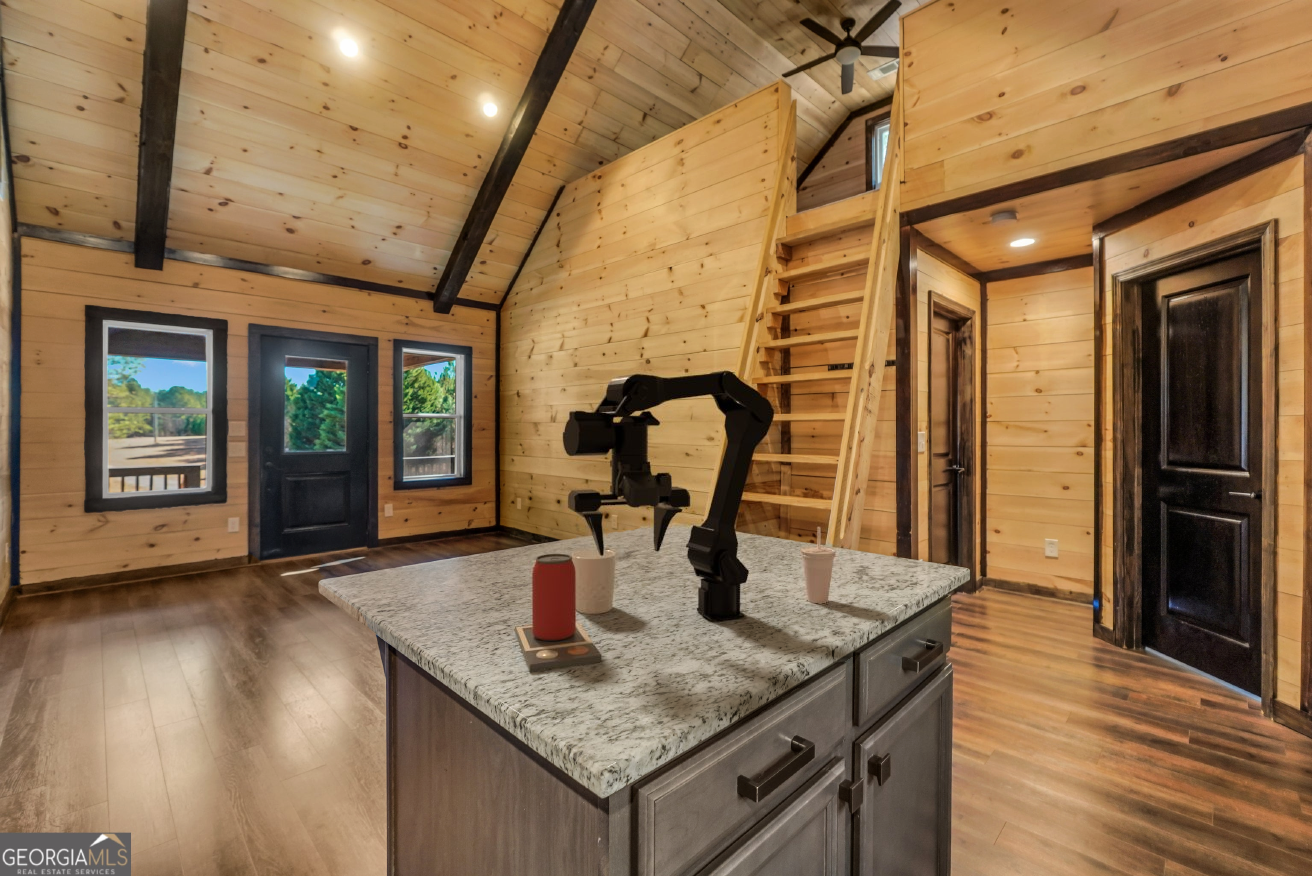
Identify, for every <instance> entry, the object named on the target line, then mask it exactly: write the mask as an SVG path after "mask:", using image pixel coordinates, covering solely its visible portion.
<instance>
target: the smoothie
mask: <svg viewBox="0 0 1312 876" xmlns="http://www.w3.org/2000/svg"><path fill="white" fill-rule="evenodd" d="M821 533H822V532H821V526H817V543H816V544H817V546H807V547H802V548H801V549H800V556H801V557H802V563H803V571H804V579H805V587H806V589H805V590H806V596H807V601H808V602H809V601H810V602H809V603H811V602H812V603H811V604H815V603H818V604H817V605H823V604H822V603H825V604H827V603H828V602H829V595H830V588H831V581H832V574H833V566H834V558H836V551H835V550H834V549H833V548H828V547H822V546H821V537H822V536H821ZM826 602H827V603H826Z"/></svg>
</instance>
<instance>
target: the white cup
mask: <svg viewBox="0 0 1312 876" xmlns="http://www.w3.org/2000/svg"><path fill="white" fill-rule="evenodd" d="M616 554H617V552H615V551H612V550H608V549H604V554H603V556H601V555H600V554H599V552H598V549H596V548H595V549H591V548H590V549H583V550H582V549H581V550H578V551H575V552H572V554H571V556H572V561H573V564H574V566H575V571H576V611H577V612H578V613H582V614H586V615H587V614H588V615H589V614H590V615H596V614H597V615H598V614H604V613H607V612H610V611H612V609H613V605H614V604H613V603H614V593H615V582H616V581H615V579H616V560H617V559H616V556H617V555H616Z"/></svg>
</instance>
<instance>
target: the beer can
mask: <svg viewBox="0 0 1312 876" xmlns="http://www.w3.org/2000/svg"><path fill="white" fill-rule="evenodd" d="M531 575H532V576H531V580H532V581H531V583H532V584H531V586H532V587H531V588H532V589H531V590H532V591H531V593H532V597H531V599H532V600H531V602H532V603H531V605H532V607H531V608H532V614H531V615H532V619H531V620H532V623H531V625H532V633H533V635H534V636H535V637H536V638H537V639H539V640H543V641H561V640H565V639H568V638H570V637H571V636H572V635H573V634H574V633H575V631H576V620H577V619H576V615H577V614H576V611H577V610H576V571H575V566H574V564H573V561H572V555H571V554H566V553H547V554H546V553H545V554H541V555H538V556H537V557H535V562H534V566H533V570H532V573H531Z"/></svg>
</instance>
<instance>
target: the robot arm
mask: <svg viewBox="0 0 1312 876" xmlns="http://www.w3.org/2000/svg"><path fill="white" fill-rule="evenodd" d="M605 392H606V394H605V395H604V397H602V400H601V401H600V403H599V404H598V406H597V407H596V408H595V410H594V411H589V412H588V411H585V410H570V411H569V415H568V420H567V421H566V423H565V425H564V431H563V432H562V444H563V448H564V451H565V453H566V454H567V455H568V456H569V457H584V456H585V457H587V456H590V457H591V456H592V457H593V456H606V455H608V453H610V450H611V460H609V467H610V468H611V485H609V493H600V492H599V491H597V490H595V489H571V491H570V492H569V493H568V496H567V508H568V509H569V510H571V511H573V512H575V513H576V514H578V515H579V516H581V517H582V518H584V520H585V521H586V524H587V525H588V528H589V530H590V532H591V535H592V538H593V540H594V543H595V546H596V548H597V549H598V552H599V554H600V555H601V556H603V554H604V550H605V546H604V545H605V543H604V534H603V517H604V513H602V511H600V508H601V507H603V506H604V507H606V506H622V505H623V506H624V505H627V506H629V507H630V508H635V509H636V508H640V507H649V506H650V507H652V508H653V548H654V551H655V552H660V549H661V547H662V544H663V541H664V538H665V536H666V532H667V530H668V527H669V526H670V523H671V521H672V520H673V518H674V517H675V516H676V515H677V514H678V513H682V512H683V508H689V507H691V495H690V492H689V491H688V490H687V488H683V487H679V486H673V483H672V480H673V479H672V475H671V474H670V472H658V473H657V474H653V473H652V470H651V469H652V467H651V461H649V460H648V459H649V457H648V456H649V455H648V454H649V442H648V441H649V440H648V439H649V437H648V435H649V433H648V432H649V427H650V426H651V427H652V426H653V427H658V426H660V425H661V421H660V420H658V419H657V418H656V417H655V416H654V415H653V414H652V412H651V411H650V410H649V409H652V408H655V407H658V406H660V405H662V404H664V403H666V402H669V401H672V400H681V399H687V398H696V397H705V396H711V397H713V400H714V402H715V404H716V407H717V408H718V411H720V412H721V414H723V415H724V416H725V418H724V425H723V426H724V430H725V431H724V432H725V435H726V439H727V444H726V448H725V451H724V455H723V459H722V463H721V466H720V470H719V474H718V477H717V481H716V485H715V488H714V492H713V496H712V500H711V502H710V507H709V509H708V514H707V517H706V519H705V520H704V521H703V522H702V524H701V525H696V524H693V525H692V527H691V529H690V534H689V535H690V536H689V539H688V541H687V544H686V545H685V548H687V554H686V555H687V559H688V562H689V564H690V565H691V566H692V568H693V571H694V575H695V576H696V577H698V578H700V587H698V589H697V590H698V591H697V597H698V598H697V599H698V602H697V603H698V604H697V607H696V611H697V612H698V613H699V614H700V615H702V616H704V617H705V618H707V619H708V620H709V621H710V622H716V621H725V620H733V619H741V618H745V617H746V614H745V613H744V612H742V611H741V585H743V584H746V583H747V580H748V577H749V574H750V571H749V569H748V568H747V567H746V566H745V564H743V562H742V561H741V560H740V559H739V558H738V548H739V541H738V536H737V533H736V528H735V526H736V522H737V518H738V514H739V510H740V505H741V503H742V499H743V494H744V491H745V487H746V483H747V479H748V476H749V471H750V468H751V464H752V461H753V457H754V452H755V449H756V448H757V447H758V446H759V444H760V443H761V442H762V441H763V440H764V438H765V437H766V436H767V435H768V433H769V432H770V431H769V430H770V427H771V425H772V423H773V420H774V416H775V409H774V407H773V406H772V404H771V403H772V402H770V400H769V399H768V398H766V396H765V397H764V396H763V395H762V394H761V393H760V392H759V391H758V390H757V389H755V388H753V387H752V386H751V385H748V384H747V383H745V382H743V381H742V380H741V379H740V377H738V376H737V375H736V373H734V372H732V371H729V370H721V371H712V372H710V373H705V374H696V375H687V376H678V377H677V376H675V377H661V376H659V375H653V374H651V375H650V374H643V373H635V374H629V375H628V374H627V375H621V376H616V377H614V378H612V379H611V380H610V382H609V383H608V385H607V387H606V391H605ZM647 410H648V411H647ZM635 412H641V413H639V415H633V414H634V413H635ZM615 418H620V420H619V421H617V422H615V421H614V419H615ZM648 426H649V427H648Z"/></svg>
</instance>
